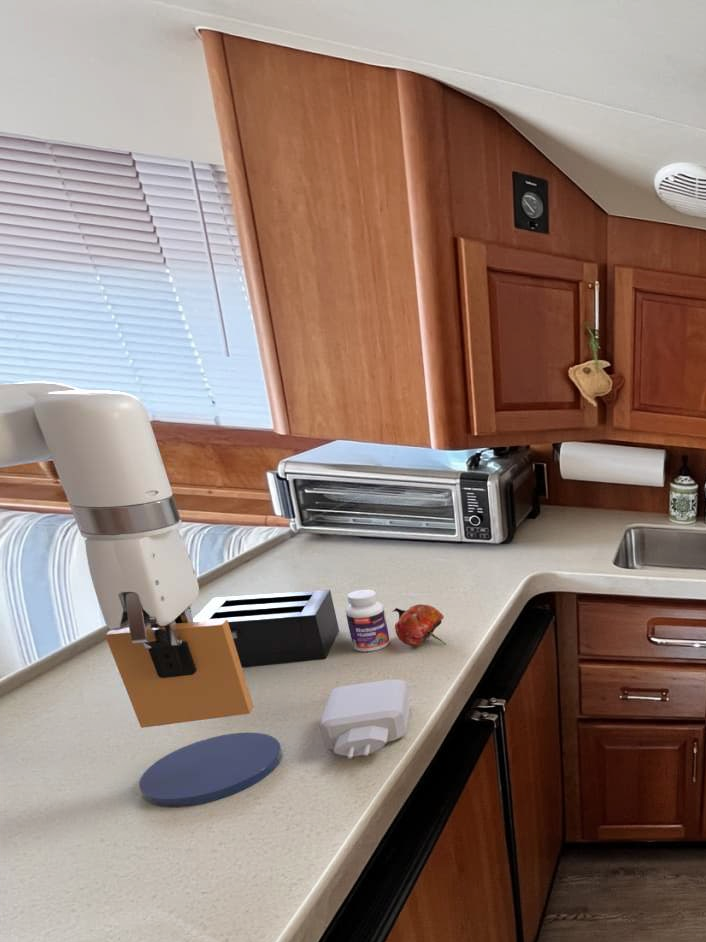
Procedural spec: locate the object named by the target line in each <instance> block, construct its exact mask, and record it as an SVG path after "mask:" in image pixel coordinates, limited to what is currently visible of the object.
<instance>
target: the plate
mask: <svg viewBox="0 0 706 942" xmlns="http://www.w3.org/2000/svg"><path fill="white" fill-rule="evenodd" d="M282 758H283V751H282V747H281V744H280V742H279V740H278V739H276V738H275V737H274V736H272V735H270V734H266V733H263V732H234V733H228V734H227V733H226V734H221V735H217V736H213V737H209V738H205V739H201V740H199V741H196V742H193V743H190V744H188V745H185V746H182V747H180V748H178V749H175V750H174V751H171V752H170V753H168V754H166V755H165V756H162V757H161V758H160V759H158V760H157V761H155V762H154V763H153V764H152V765H150V766H149V767H148V768H147V769H146V770H145V771H144V772H143V773H142V775H141V777H140V778H139V781H138V783H139V784H138V787H139V789H140V793H141V795H142V797H143V798H144V800H145V801H146V802H148V803H150V804H153V805H155V806H159V807H167V808H179V807H190V806H197V805H202V804H206V803H210V802H214V801H217V800H221V799H224V798H226V797H230V796H232V795H236V794H238V793H240V792H242V791H244V790H246V789H248V788H250V787H252V786H253V785H255V784H258V783H259V782H260V781H262V780H264V779H265V778H266V777H267V776H269V775H270V774H271V773H272V772H273V771H274V770H275V769H276V768H277V767H278V766H279V764H280V762H281V761H282Z"/></svg>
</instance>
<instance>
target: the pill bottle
mask: <svg viewBox="0 0 706 942" xmlns="http://www.w3.org/2000/svg"><path fill="white" fill-rule="evenodd" d="M347 601H348V606H347V607H346V609H345V617H346V621H347V627H348V630H349V636H350V640H351V644H352V648H353V649H354V650H355V651H359V652H365V653H366V652H367V651H368V652H375V651H379V650H381V649H384V648H386V647H387V646H388V645H389V644H390V634H389V631H388V624H387V618H386V613H385V607H384V605H383V604H382V603H381V602H379V601H378V596H377V593H376V591H375V590H373V589H358V590H354V591H351V592H349V593H348V594H347Z"/></svg>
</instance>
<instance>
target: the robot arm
mask: <svg viewBox="0 0 706 942" xmlns="http://www.w3.org/2000/svg"><path fill="white" fill-rule="evenodd" d="M49 461H52V462H53V465H54V467H55V470H56V473H57V475H58V479H59V480H60V483H61V486H62V489H63V491H64V493H65V497H66V500H67V502H68V505H69V507H70V510H71V512H72V515H73V518H74V520H75V523H76V525H77V528H78V531H79V533H80V535H81V537H83V538H85V541H84V544H85V553H86V560H87V566H88V570H89V574H90V578H91V581H92V585H93V589H94V592H95V595H96V599H97V602H98V605H99V608H100V611H101V614H102V618H103V620H104V622H105V625H106V627H107V628H108V629H110V630H120V629H122V628H126V626H128V628H129V629H130V636H131V641H132V643H134V644H136V643H143V644H144V646H145V648H146V649H148V650H149V653H150V656H151V658H152V661H153V664H154V667H155V669H156V672H157V675H158V677H160V678H168V677H178V676H187V675H193V674H194V673H195V672H196V667H195V664H194V661H193V658H192V655H191V652H190V649H189V646H188V643H187V642H182V639H181V636H180V633H179V630H178V628H177V625H176V624H177V623H189V622H193V616H192V610H191V609H192V608H191V606H192V604H193V603H194V602H195V601H196V600H197V598H198V597H199V594H200V587H199V582H198V577H197V575H196V572H195V567H194V565H193V562H192V560H191V557H190V554H189V551H188V549H187V546H186V544H185V541H184V539H183V537H182V535H181V533H180V530H179V528H181V527H182V526H183V522H182V520H181V516H180V513H179V510H178V506H177V503H176V500H175V496H174V494H173V491H172V486H171V484H170V481H169V477H168V474H167V472H166V468H165V465H164V461H163V458H162V456H161V452H160V450H159V446H158V443H157V439H156V436H155V433H154V431H153V427H152V424H151V421H150V418H149V414H148V412H147V409H146V407H145V406H144V403H143V402H142V401H141V400H140V399H139V398H138V397H136V396H134V395H132V394H129V393H126V392H123V391H122V392H121V391H113V390H95V389H94V390H93V389H90V390H89V389H86V390H85V389H81V388H78V387H74V386H70V385H66V384H62V383H58V382H57V383H56V382H48V381H24V382H7V383H3V382H2V383H0V468H6V467H14V466H19V465H27V464H33V463H41V462H42V463H44V462H49ZM160 627H165V629H166V631H164V630H163V629H158V630H153V629H152V628H160Z"/></svg>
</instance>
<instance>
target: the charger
mask: <svg viewBox="0 0 706 942" xmlns="http://www.w3.org/2000/svg"><path fill="white" fill-rule="evenodd" d="M409 691H410V690H409V685H408V682H407V680H405V679H401V678H394V679H385V680H378V681H370V682H364V683H356V684H349V685H348V684H347V685H343V686H338V687H335V688H333V689H332V690H331V691H330V694H329V697H328V699H327V703H326V706H325V709H324V712H323V714H322V717H321V720H320V724H319V729H320V733H321V738H322V742H323V745H324V747H325V748H326V749H328V750H332V751H333V753H334V754H336V755H339V756H347V757H346V758H347V759H349V760H350V759H352V758H353V757H357V756H362V755H363V756H365V757H366V756H369V754H373V753H375V752H376V751H379V750H380V749H382V748H383V747H384V746H385V745H386V744H387V742H389V743H390V742H393V741H397V740H399V739H401V738H403V737H404V736H406V735H407V730H408V729H407V728H408V722H409V715H410V706H411V696H410V692H409Z"/></svg>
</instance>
